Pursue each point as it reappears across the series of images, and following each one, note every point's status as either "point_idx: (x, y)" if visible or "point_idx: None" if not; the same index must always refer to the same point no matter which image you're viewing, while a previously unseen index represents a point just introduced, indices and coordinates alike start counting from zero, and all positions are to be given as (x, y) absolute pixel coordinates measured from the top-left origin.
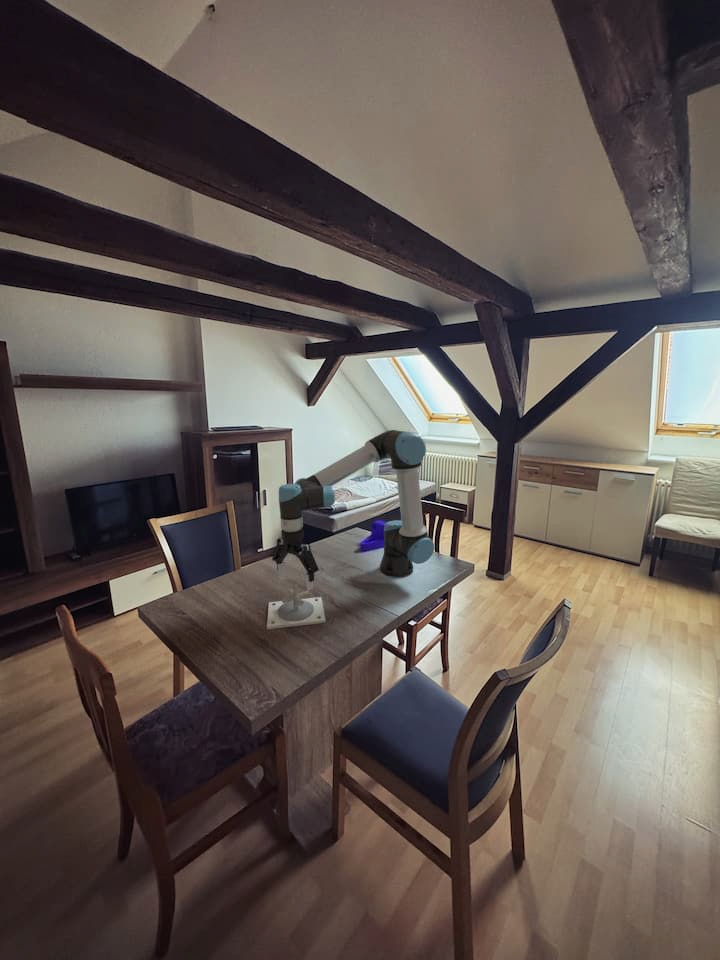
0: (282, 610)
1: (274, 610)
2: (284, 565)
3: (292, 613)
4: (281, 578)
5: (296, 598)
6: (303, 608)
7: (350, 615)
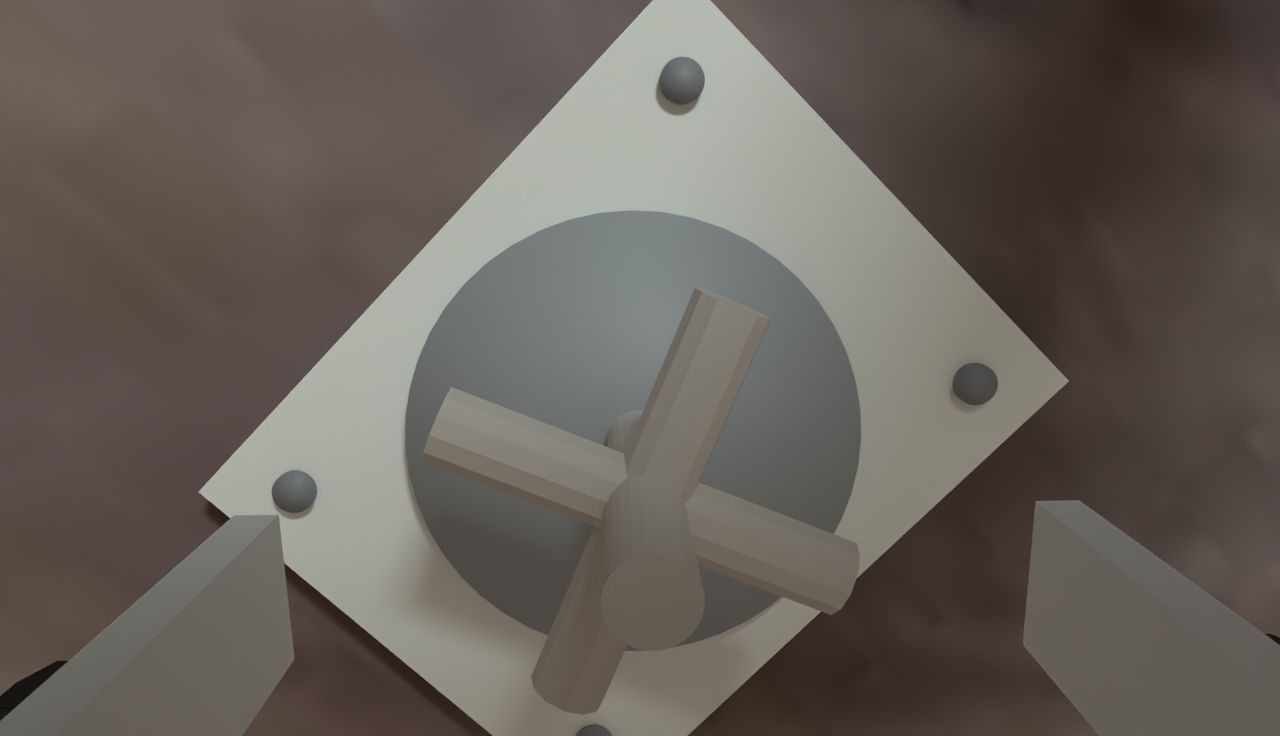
0: (514, 553)
1: (412, 577)
2: (104, 713)
3: None
4: (271, 655)
5: (726, 570)
6: None
7: (1235, 76)
